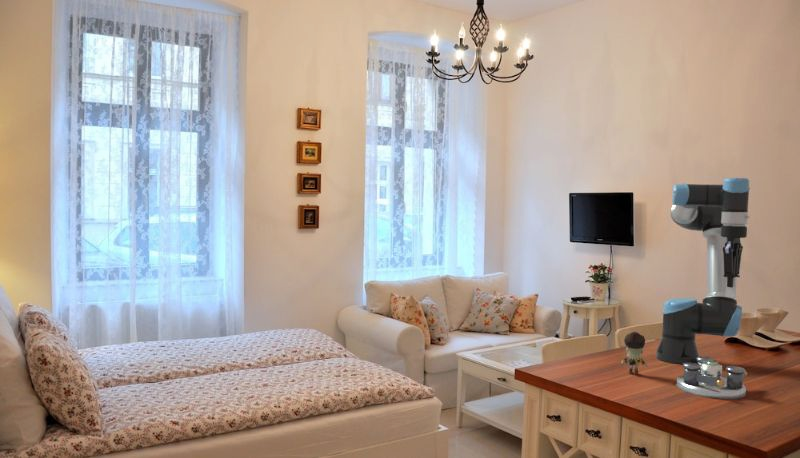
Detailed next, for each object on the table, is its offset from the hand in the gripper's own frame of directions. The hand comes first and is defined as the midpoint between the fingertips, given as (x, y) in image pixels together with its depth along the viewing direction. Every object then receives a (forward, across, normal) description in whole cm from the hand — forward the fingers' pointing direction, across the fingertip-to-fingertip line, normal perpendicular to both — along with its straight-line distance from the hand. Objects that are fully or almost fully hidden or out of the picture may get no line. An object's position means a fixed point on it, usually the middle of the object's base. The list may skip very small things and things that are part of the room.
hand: (730, 296), depth 207 cm
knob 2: (+27, -16, +2) cm, 31 cm away
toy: (+30, -10, +27) cm, 41 cm away
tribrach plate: (+29, -9, +2) cm, 31 cm away
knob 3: (+27, -5, -5) cm, 28 cm away
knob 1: (+27, +1, +6) cm, 28 cm away
